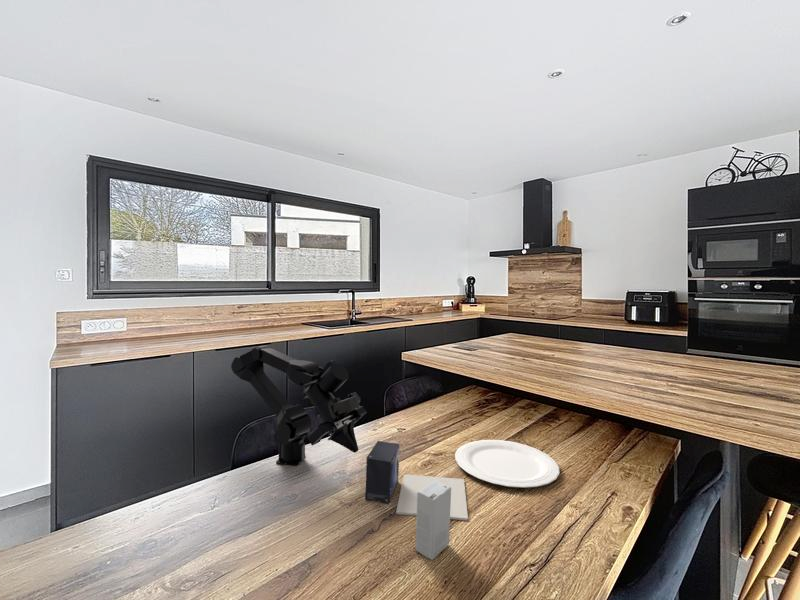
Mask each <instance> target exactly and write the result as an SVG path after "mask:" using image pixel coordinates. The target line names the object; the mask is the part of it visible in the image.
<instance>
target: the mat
mask: <svg viewBox="0 0 800 600" xmlns="http://www.w3.org/2000/svg"><path fill="white" fill-rule="evenodd" d="M433 481H437V482H440V483H442V484H445V485H447V486H449V487H451V506H450V520H456V521H457V520H459V521H467V522H468V521H469V516H468V515H469V514H468V506H467V505H468V504H467V495H466V488H465V479H464V478H453V477H444V476H443V477H442V476H429V475H417V474H403V477H402V483H401V487H400V491H399V497H398V501H397V506H396V510H395V511H396V512H395V514H396V515H403V516H405V515H406V516H415V517H417V493H418V491H420V490H421V489H423V488H424V487H426V486H427V485H429V484H430V483H432V482H433Z"/></svg>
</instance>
